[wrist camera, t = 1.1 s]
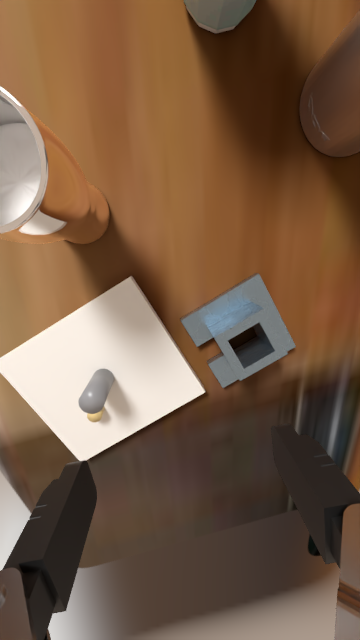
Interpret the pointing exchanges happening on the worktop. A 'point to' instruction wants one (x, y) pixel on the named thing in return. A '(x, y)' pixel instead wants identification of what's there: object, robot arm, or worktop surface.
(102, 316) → the post base
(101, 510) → the worktop surface
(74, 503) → the robot arm
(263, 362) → the flange
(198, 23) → the disposable coffee cup
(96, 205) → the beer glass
